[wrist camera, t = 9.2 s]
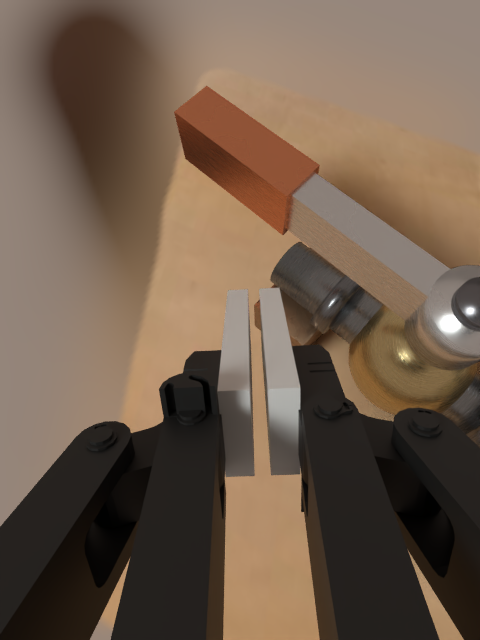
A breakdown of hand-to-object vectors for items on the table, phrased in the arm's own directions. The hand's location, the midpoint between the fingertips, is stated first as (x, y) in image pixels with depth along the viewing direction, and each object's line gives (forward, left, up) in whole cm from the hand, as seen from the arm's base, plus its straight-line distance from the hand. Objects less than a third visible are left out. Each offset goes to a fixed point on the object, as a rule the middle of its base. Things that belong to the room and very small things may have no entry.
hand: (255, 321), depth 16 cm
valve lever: (-1, -6, -3) cm, 7 cm away
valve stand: (-8, -3, -13) cm, 16 cm away
